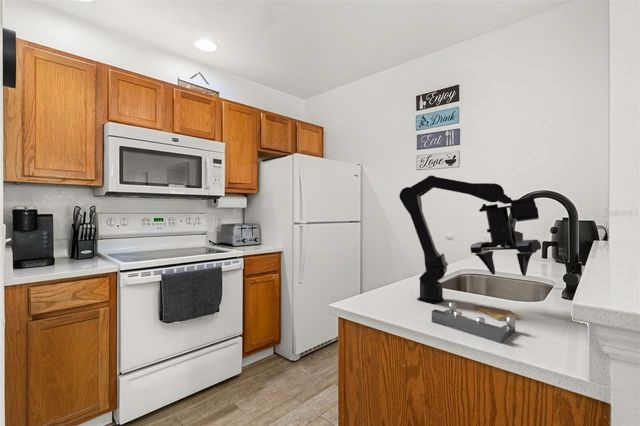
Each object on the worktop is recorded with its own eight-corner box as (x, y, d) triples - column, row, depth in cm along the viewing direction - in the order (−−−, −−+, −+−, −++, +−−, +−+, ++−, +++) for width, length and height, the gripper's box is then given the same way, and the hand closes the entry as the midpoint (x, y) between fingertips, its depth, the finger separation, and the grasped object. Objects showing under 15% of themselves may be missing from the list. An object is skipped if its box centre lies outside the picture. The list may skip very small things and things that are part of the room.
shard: (473, 309, 101) (473, 303, 101) (496, 308, 101) (496, 302, 101) (496, 322, 90) (496, 315, 90) (521, 320, 91) (521, 314, 91)
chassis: (431, 321, 90) (431, 309, 89) (450, 313, 96) (450, 301, 96) (500, 343, 76) (500, 328, 75) (517, 331, 82) (517, 318, 82)
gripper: (545, 217, 95) (555, 270, 94) (485, 223, 111) (493, 268, 110) (525, 222, 89) (536, 278, 88) (465, 228, 105) (474, 275, 104)
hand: (508, 274), depth 98 cm, fingers open, 9 cm apart
